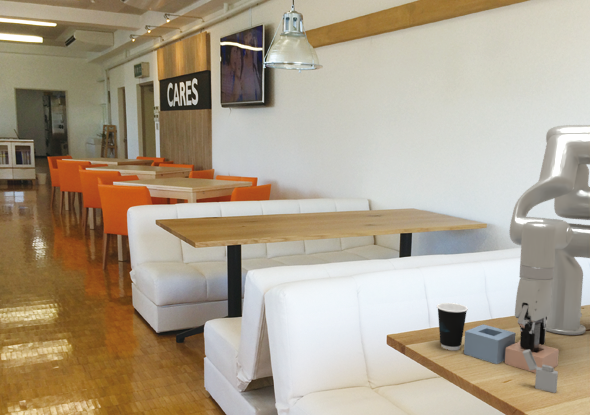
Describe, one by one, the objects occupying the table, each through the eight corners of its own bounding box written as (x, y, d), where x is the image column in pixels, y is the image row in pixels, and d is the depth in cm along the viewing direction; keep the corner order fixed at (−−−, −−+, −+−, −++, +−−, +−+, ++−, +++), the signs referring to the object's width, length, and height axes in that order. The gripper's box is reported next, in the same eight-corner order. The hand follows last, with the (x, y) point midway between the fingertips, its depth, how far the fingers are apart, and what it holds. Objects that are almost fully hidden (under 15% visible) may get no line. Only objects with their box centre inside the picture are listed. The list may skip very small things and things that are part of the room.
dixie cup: (468, 345, 146) (470, 305, 144) (462, 354, 139) (464, 312, 138) (439, 340, 149) (440, 301, 148) (431, 348, 142) (433, 308, 141)
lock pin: (527, 360, 135) (529, 313, 134) (542, 364, 132) (545, 317, 131) (520, 364, 133) (522, 316, 132) (535, 368, 130) (538, 320, 129)
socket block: (482, 346, 145) (483, 324, 144) (514, 355, 138) (515, 332, 138) (464, 353, 139) (465, 331, 139) (496, 364, 132) (498, 340, 132)
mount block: (521, 354, 139) (522, 339, 139) (557, 365, 132) (558, 349, 132) (504, 363, 133) (505, 347, 133) (541, 374, 126) (542, 358, 126)
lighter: (556, 390, 118) (559, 354, 117) (555, 393, 117) (557, 357, 116) (522, 382, 122) (524, 347, 121) (520, 384, 121) (522, 350, 120)
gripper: (536, 265, 139) (532, 334, 141) (504, 274, 128) (500, 349, 129) (567, 270, 133) (562, 342, 135) (536, 280, 122) (531, 358, 124)
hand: (532, 345), depth 132 cm, fingers open, 4 cm apart
